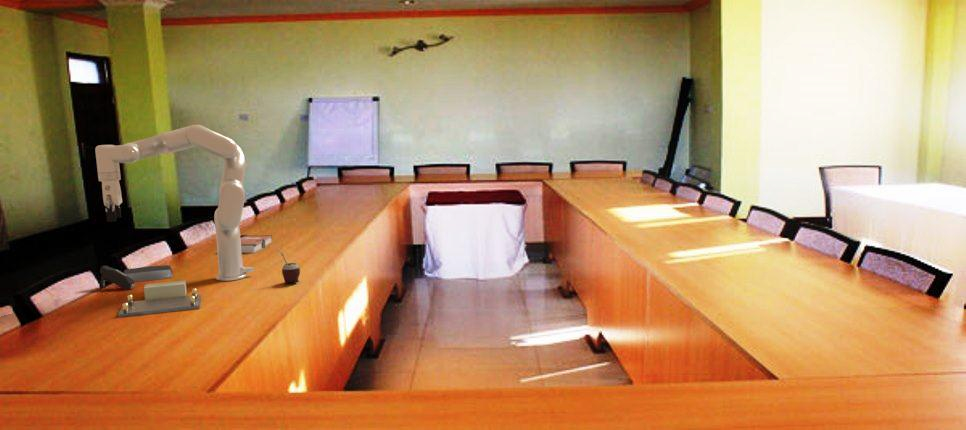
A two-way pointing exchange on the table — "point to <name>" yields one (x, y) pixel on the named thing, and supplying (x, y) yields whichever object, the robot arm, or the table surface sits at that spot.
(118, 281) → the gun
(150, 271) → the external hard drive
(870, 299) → the table surface
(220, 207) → the robot arm
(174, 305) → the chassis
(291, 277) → the mate gourd
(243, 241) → the book
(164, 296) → the pale grey rectangular block
